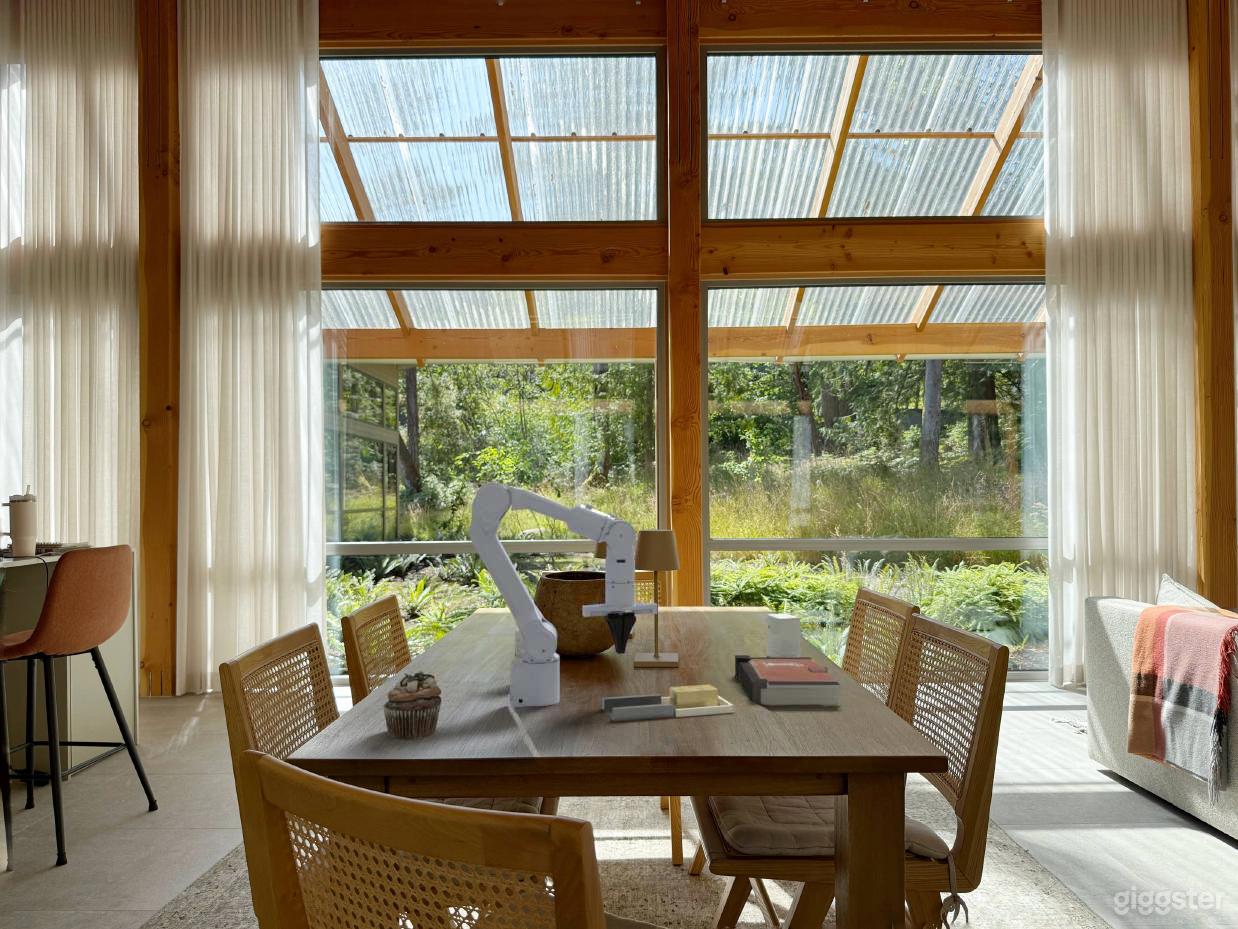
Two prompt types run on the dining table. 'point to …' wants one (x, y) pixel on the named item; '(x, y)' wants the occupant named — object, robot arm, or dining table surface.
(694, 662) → the dining table surface
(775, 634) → the small box
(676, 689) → the brass chip
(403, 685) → the cupcake
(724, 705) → the tray
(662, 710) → the rail
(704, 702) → the brass chip
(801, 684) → the book
